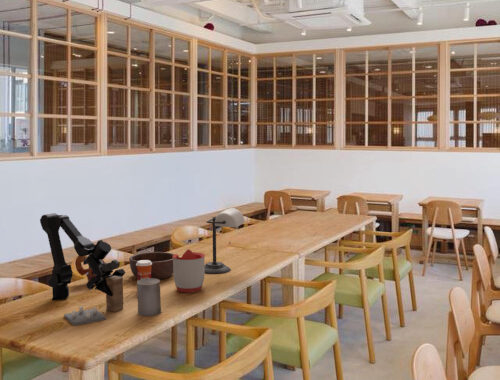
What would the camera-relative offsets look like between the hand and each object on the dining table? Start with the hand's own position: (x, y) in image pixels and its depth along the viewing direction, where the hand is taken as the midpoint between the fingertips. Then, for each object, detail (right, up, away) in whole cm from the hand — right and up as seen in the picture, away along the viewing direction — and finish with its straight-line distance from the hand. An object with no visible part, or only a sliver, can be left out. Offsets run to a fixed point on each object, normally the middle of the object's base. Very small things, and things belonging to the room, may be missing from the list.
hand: (116, 294), depth 244 cm
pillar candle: (+14, -8, -3) cm, 17 cm away
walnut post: (-1, -7, +1) cm, 7 cm away
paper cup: (+6, -4, +31) cm, 32 cm away
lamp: (+41, 0, +69) cm, 80 cm away
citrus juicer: (+27, -4, +32) cm, 42 cm away
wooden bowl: (+6, -1, +58) cm, 59 cm away
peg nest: (-11, -8, -10) cm, 17 cm away
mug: (-24, -3, +45) cm, 51 cm away
